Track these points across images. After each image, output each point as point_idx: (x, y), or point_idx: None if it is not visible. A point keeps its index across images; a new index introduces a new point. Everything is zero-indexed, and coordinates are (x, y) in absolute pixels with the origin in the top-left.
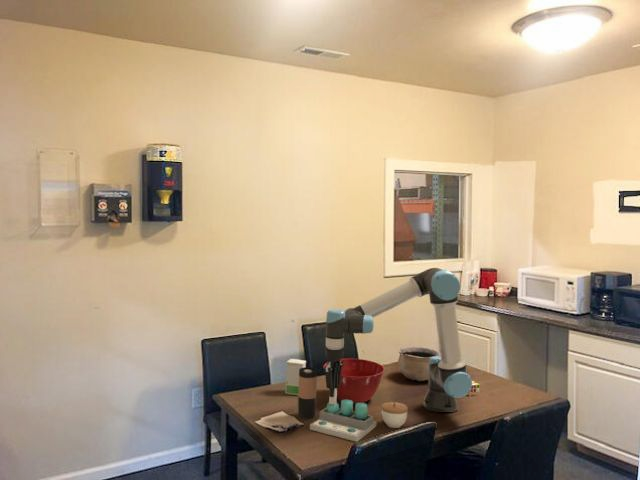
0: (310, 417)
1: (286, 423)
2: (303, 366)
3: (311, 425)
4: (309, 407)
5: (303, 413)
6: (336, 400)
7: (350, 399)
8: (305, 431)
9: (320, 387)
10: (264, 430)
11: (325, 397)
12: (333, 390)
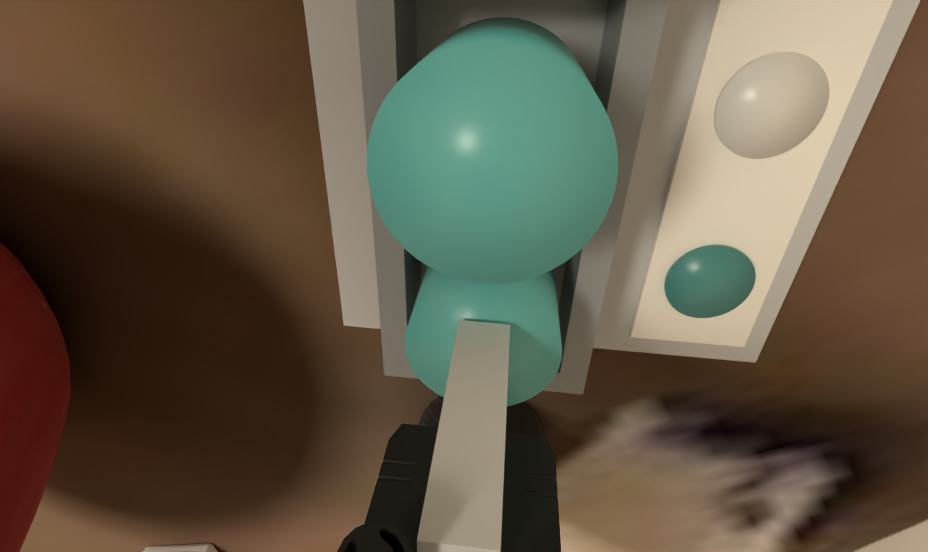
0: (519, 406)
1: (677, 483)
2: None
3: (758, 345)
4: None
5: None
6: (456, 354)
7: (10, 279)
8: (792, 345)
9: None
10: (846, 537)
11: (103, 442)
12: (518, 547)
